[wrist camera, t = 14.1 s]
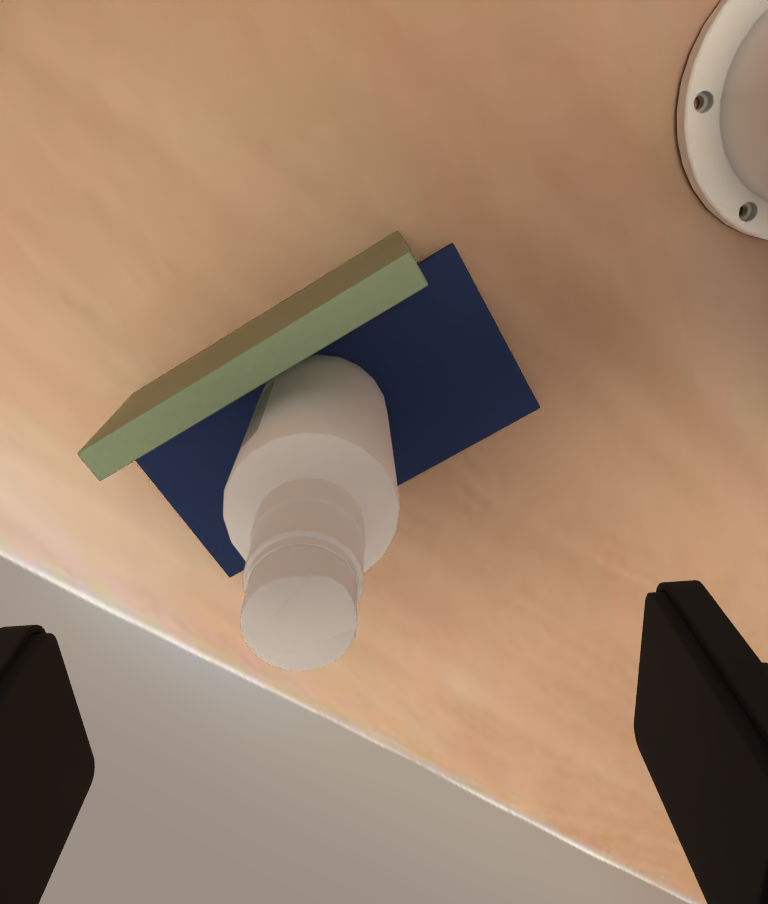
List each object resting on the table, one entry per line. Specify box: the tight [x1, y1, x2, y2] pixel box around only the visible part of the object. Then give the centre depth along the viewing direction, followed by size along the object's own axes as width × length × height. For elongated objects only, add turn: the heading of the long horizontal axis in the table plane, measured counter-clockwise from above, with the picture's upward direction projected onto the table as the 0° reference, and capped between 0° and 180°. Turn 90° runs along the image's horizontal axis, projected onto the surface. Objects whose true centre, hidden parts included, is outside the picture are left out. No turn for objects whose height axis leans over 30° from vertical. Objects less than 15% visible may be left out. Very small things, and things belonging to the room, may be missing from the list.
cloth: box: [135, 243, 540, 577], centre depth 38 cm, size 10×20×1 cm, turn 120°
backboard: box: [77, 231, 428, 481], centre depth 32 cm, size 2×16×8 cm, turn 121°
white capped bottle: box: [223, 355, 400, 671], centre depth 29 cm, size 7×7×18 cm
